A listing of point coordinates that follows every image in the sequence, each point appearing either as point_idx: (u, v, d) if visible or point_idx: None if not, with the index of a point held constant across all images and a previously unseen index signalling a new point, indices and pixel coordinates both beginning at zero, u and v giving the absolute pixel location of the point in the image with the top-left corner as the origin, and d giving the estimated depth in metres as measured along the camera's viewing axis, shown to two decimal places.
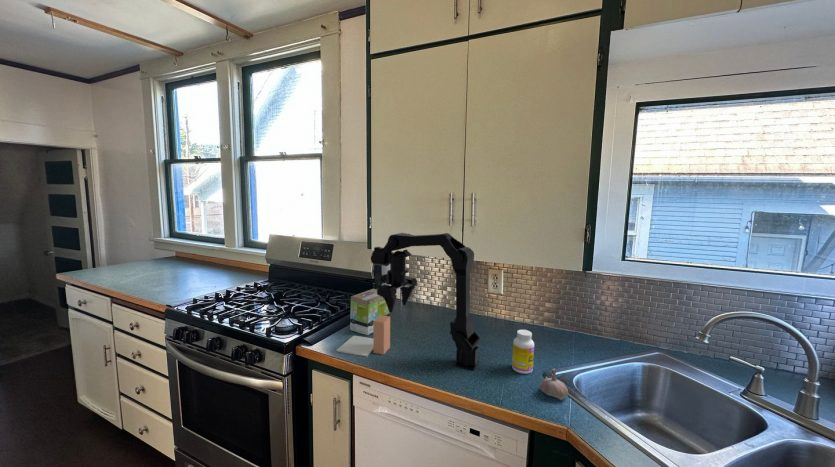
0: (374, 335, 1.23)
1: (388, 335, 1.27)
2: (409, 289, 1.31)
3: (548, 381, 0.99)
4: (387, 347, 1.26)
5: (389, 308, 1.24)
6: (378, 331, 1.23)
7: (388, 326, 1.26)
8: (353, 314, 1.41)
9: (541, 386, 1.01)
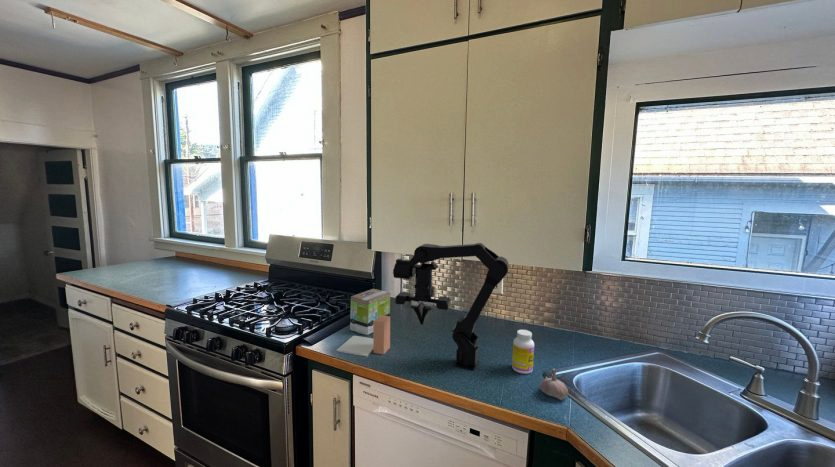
0: (374, 335, 1.23)
1: (388, 335, 1.27)
2: None
3: (548, 381, 0.99)
4: (387, 347, 1.26)
5: None
6: (378, 331, 1.23)
7: (388, 326, 1.26)
8: (353, 314, 1.41)
9: (541, 386, 1.01)
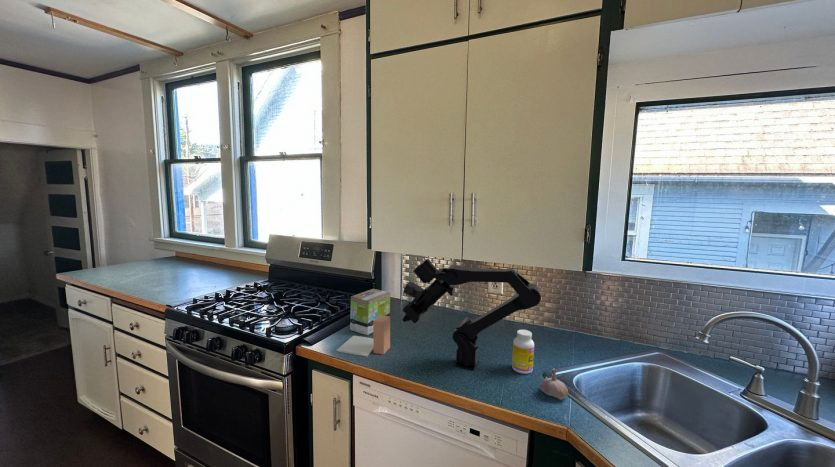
0: (374, 335, 1.23)
1: (388, 335, 1.27)
2: None
3: (548, 381, 0.99)
4: (387, 347, 1.26)
5: (405, 318, 1.21)
6: (378, 331, 1.23)
7: (388, 326, 1.26)
8: (353, 314, 1.41)
9: (541, 386, 1.01)
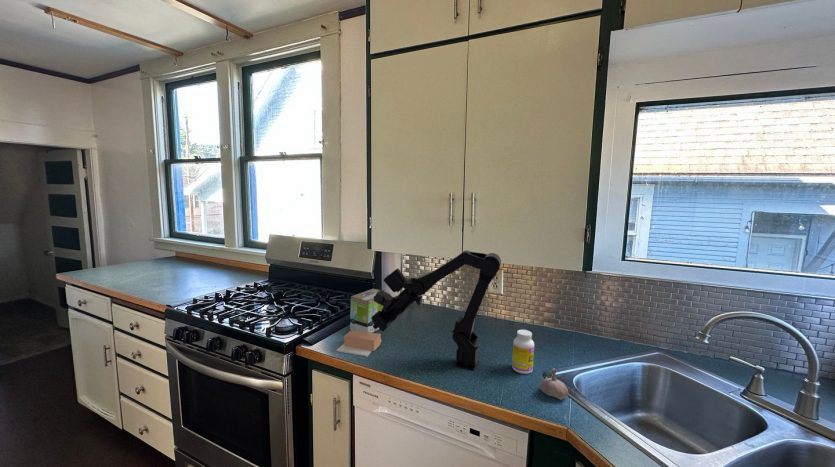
0: (357, 347, 1.26)
1: (366, 333, 1.29)
2: None
3: (548, 381, 0.99)
4: (375, 336, 1.27)
5: (375, 325, 1.25)
6: (353, 342, 1.26)
7: (357, 332, 1.30)
8: (353, 314, 1.41)
9: (541, 386, 1.01)
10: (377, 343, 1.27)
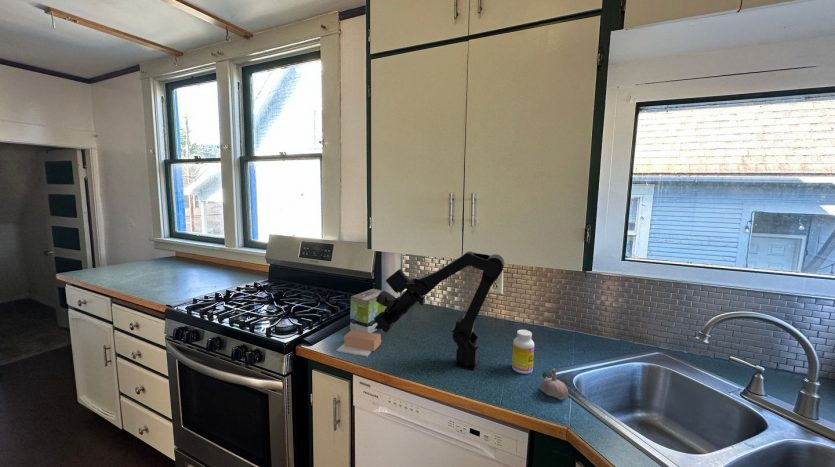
0: (357, 347, 1.26)
1: (366, 333, 1.29)
2: None
3: (548, 381, 0.99)
4: (375, 336, 1.27)
5: (378, 326, 1.25)
6: (353, 342, 1.26)
7: (357, 332, 1.30)
8: (353, 314, 1.41)
9: (541, 386, 1.01)
10: (377, 343, 1.27)
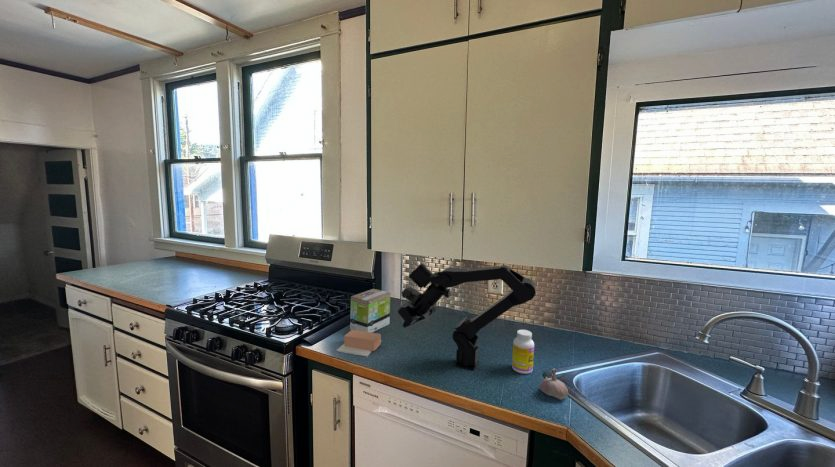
0: (357, 347, 1.26)
1: (366, 333, 1.29)
2: (419, 318, 1.22)
3: (548, 381, 0.99)
4: (375, 336, 1.27)
5: (405, 324, 1.23)
6: (353, 342, 1.26)
7: (357, 332, 1.30)
8: (353, 314, 1.41)
9: (541, 386, 1.01)
10: (377, 343, 1.27)
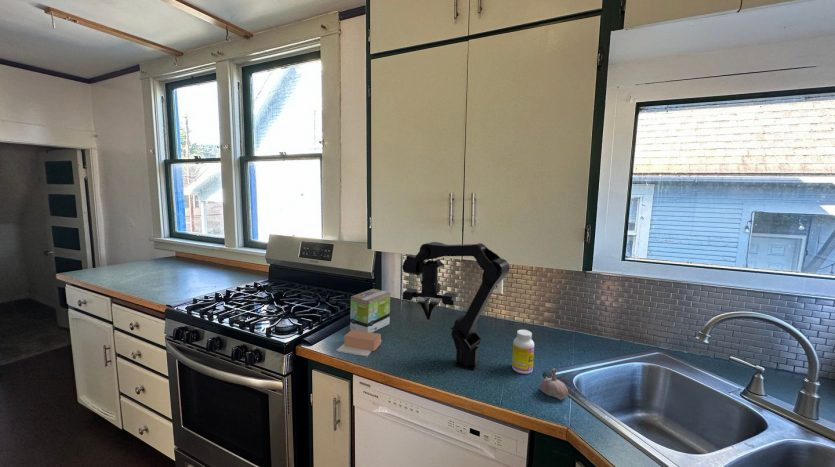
0: (357, 347, 1.26)
1: (366, 333, 1.29)
2: None
3: (548, 381, 0.99)
4: (375, 336, 1.27)
5: None
6: (353, 342, 1.26)
7: (357, 332, 1.30)
8: (353, 314, 1.41)
9: (541, 386, 1.01)
10: (377, 343, 1.27)
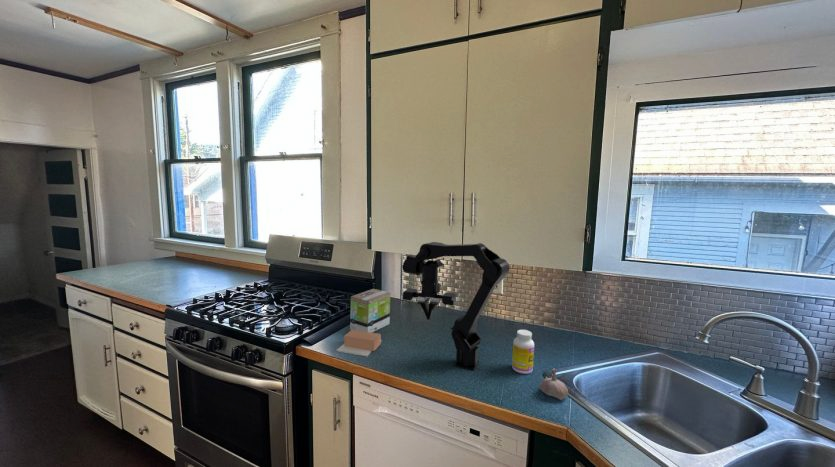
0: (357, 347, 1.26)
1: (366, 333, 1.29)
2: None
3: (548, 381, 0.99)
4: (375, 336, 1.27)
5: None
6: (353, 342, 1.26)
7: (357, 332, 1.30)
8: (353, 314, 1.41)
9: (541, 386, 1.01)
10: (377, 343, 1.27)
